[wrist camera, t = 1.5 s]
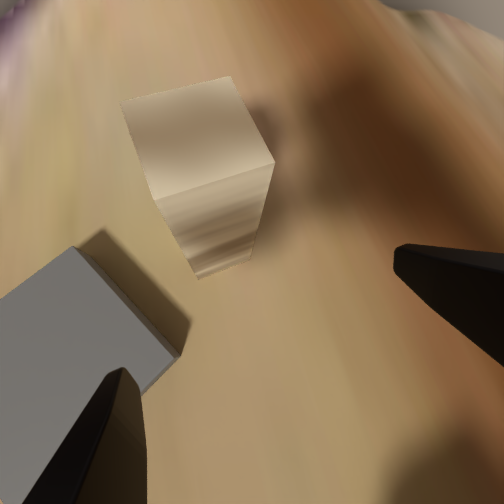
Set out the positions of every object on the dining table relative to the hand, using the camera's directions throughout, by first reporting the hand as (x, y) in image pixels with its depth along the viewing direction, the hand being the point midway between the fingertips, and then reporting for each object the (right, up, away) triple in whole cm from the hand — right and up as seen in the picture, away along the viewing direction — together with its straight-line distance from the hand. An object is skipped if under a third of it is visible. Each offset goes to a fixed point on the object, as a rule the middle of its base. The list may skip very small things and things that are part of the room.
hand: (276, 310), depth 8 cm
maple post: (-4, +2, +14) cm, 15 cm away
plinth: (-14, -6, +11) cm, 18 cm away
